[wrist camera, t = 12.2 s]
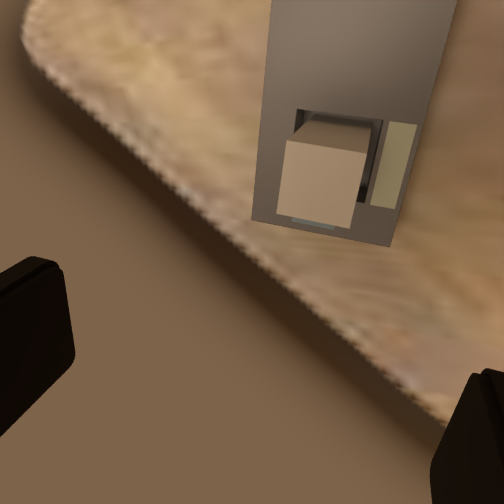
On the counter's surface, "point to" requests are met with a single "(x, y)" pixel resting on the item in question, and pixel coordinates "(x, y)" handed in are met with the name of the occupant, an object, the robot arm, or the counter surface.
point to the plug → (324, 171)
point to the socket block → (351, 95)
